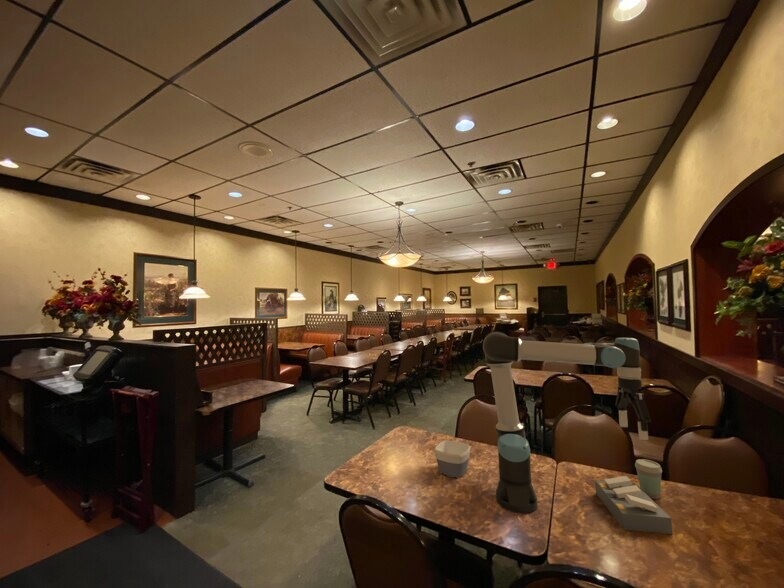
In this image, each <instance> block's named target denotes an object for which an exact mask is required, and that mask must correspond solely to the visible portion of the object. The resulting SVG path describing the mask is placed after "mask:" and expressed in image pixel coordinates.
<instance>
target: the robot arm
mask: <svg viewBox="0 0 784 588" xmlns="http://www.w3.org/2000/svg"><path fill="white" fill-rule="evenodd" d="M482 350H483V353H484V356H485V363H486V365H487V366H489V368H490V373H491V380H492V381H491V382H492V386H493V387H492V388H493V393H494V401H495V402H494V403H495V408H496V414H497V420H498V422H497V424H496V425H495V433H496V437H497V438H496V439H497V454H498V473H499V474H498V475H499V476H498V478H499V480H498V483H497V485H496V489H495V501H496V503H497V504H498V505H499V506H500V507H501V508H503V509H505V510H507V511H510V512H513V513H517V514H529V513H533V512H534V511H537V508H538V496H537V495H536V492H535V489H534V486H533V483H532V471H531V470H532V469H531V447H530V444H529V441H528V439H526V432H525V426H524V424H523V423H522V422H520V419H519V417H520V416H519V412H518V406H517V399H516V393H515V391H516V390H515V385H514V380H513V372H512V367H511V366H512V364H513V363H514V362H517V363H518V362H520V361H522V360H523V361H525V360H526V361H539V362H548V363H549V362H552V363H563V364H564V363H565V364H575V365H578V364H579V365H587V366H588V365H592V366H599V367H608V368H609V369H611V368H612V369H616V373H617V376H618V377H617V384H618V386H617V394H616V398H615V404H614V406H615V407H616V408H617V410H618V422H619V427H620V428H628V427H629V423H628V421H629V420H628V409H627V407H628V405H629V404H630V405H632V407H633V409H634V412H635V414H636V416H637V421H636V422H637V428H638V429H637V431H638V440H641V441H642V440H645V441H648V440H649V431H648V430H649V428H648V423H652V419H651V415H650V412H649V408H648V406H647V402H646V400H645V399H646V397H645V394H644V393H639V390H641V389H642V388H643V384H642V383H643V382H642V379H641V378H642V373H641V372H642V368H641V355H640V352H641V349H640V344H639V340H638V339H636V338H633V337H616V338H615V341H614V342H610V343H609V342H585V343H572V342H571V343H569V342H557V341H556V342H553V341H541V340H540V341H538V340H523V339H521V338H520V337H515V336H508V335H507V334H506V333H504V332H502V331H492V332H489V333H488V334H486V335H485V338H484V339H483V343H482Z"/></svg>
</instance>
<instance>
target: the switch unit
mask: <svg viewBox="0 0 784 588" xmlns="http://www.w3.org/2000/svg"><path fill="white" fill-rule="evenodd" d="M594 484H595V494H596V495H597V497H598V499H600V501H602V503H603V504H604V506H605V507H606V508H607V509H608V511H609V512H610V514H611V515H612V516H613V518H615V520H616V522H617V523H618V524H619V525H620V526H621V527H622V529H623V530H626V531H639V532H644V533H645V532H647V533H656V534H657V533H659V534H668V535H673V525H672V518H671V515H669V514H668V513H667V512H666V511H664V509H663V508H661V507H660V506H659V504H657V503H656V502H655V501H654V499H653V498H650V497H649V496H648V495H647V494H646V493H644V492H643V491H642V490H641V489H640V486H638V485H637V484H636V483H633V482H632V485H627V486H634V485H636V486H637V487H638V488H639V489H640V490H641V491H642V494H643V495H639V496H634V497H637V498H641V499H644V500H647V501H650V502H652V503H653V504H654V505H655V506H656V507H657V508H658V509H657V512H653V511H650V510H647V509H645V510H644V511H643V510H642V509H641V508H640V507H637V506H634V505H631V504H629V503H628V501H627V500H626V499H625V498H618V497H617V496H616V495H615V494H614V492H613V489H615V488H620V487H615V488H609V487H608V486H607V485H606V483H605V480H594ZM627 486H622V487H627Z"/></svg>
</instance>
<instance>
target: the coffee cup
mask: <svg viewBox="0 0 784 588" xmlns="http://www.w3.org/2000/svg"><path fill="white" fill-rule="evenodd" d="M634 467H635V470H636V474H637V478H638V479H637V480H638V484H639V488H640V489H641V490H642V491H643V492H644V493H646V494H647V495H648V496H649V497H650V498H651V499H652V500H657V499H658V500H659V499H660V498H661V486H662V485H661V484H662V473H663V470H662V469H663V468H662V466H661V465H660V464H659V463H657V462H656V461H653V460H649V459H645V458H643V459H642V458H641V459H640V458H639V459H636V460H635V463H634Z"/></svg>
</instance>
